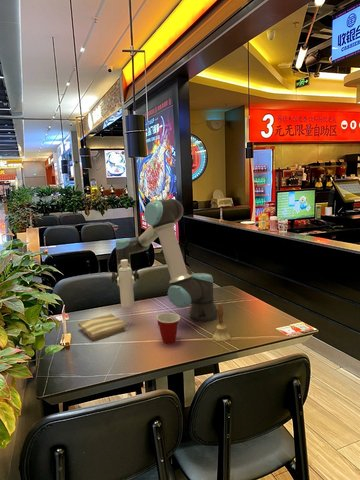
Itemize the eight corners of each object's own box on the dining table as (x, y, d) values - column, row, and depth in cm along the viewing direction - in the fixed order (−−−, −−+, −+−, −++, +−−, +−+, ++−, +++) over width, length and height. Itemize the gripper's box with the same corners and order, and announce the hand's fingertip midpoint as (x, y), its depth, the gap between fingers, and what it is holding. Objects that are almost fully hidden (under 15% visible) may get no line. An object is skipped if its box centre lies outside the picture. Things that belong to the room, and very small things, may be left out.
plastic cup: (178, 347, 157) (177, 321, 155) (155, 346, 160) (153, 320, 157) (183, 336, 168) (182, 312, 166) (161, 335, 170) (159, 311, 168)
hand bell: (226, 342, 159) (224, 308, 156) (209, 339, 163) (207, 306, 161) (233, 335, 166) (232, 302, 163) (217, 332, 170) (216, 300, 168)
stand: (127, 330, 178) (126, 323, 177) (92, 342, 167) (92, 334, 167) (111, 320, 192) (110, 313, 191) (78, 330, 182) (78, 322, 181)
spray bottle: (123, 302, 186) (119, 255, 182) (135, 302, 185) (132, 255, 181) (119, 307, 180) (115, 258, 175) (132, 307, 179) (128, 258, 174)
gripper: (142, 275, 200) (146, 287, 177) (107, 278, 196) (106, 291, 174) (141, 262, 198) (145, 272, 176) (105, 265, 195) (104, 276, 173)
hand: (125, 282), depth 175 cm, fingers closed on spray bottle, 7 cm apart
